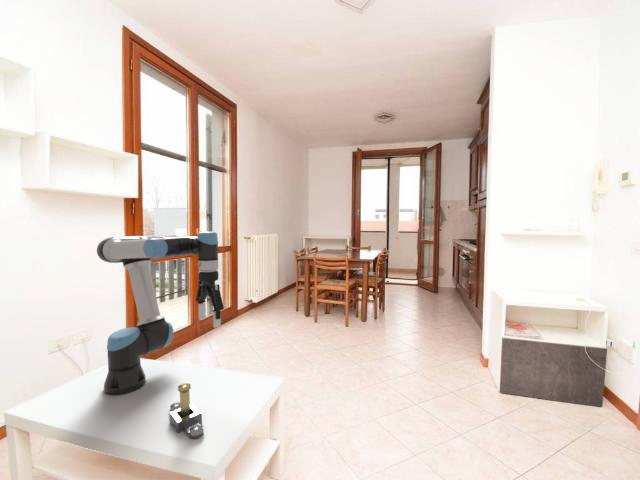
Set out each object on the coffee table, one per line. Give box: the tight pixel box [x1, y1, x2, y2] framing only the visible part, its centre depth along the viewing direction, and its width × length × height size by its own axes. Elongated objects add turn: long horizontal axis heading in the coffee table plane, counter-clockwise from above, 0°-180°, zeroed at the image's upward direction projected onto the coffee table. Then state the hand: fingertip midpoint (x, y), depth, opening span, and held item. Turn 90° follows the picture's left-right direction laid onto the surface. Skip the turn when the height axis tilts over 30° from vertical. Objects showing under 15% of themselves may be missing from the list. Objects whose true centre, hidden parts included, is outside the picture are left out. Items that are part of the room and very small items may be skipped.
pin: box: [177, 382, 192, 418], centre depth 111 cm, size 4×4×13 cm
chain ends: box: [168, 401, 205, 440], centre depth 111 cm, size 22×8×4 cm, turn 43°
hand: (209, 322), depth 129 cm, fingers open, 13 cm apart
